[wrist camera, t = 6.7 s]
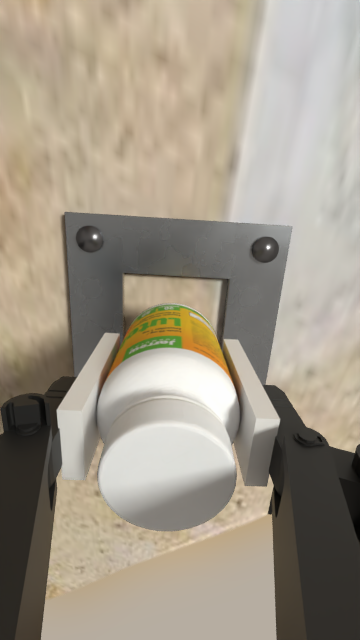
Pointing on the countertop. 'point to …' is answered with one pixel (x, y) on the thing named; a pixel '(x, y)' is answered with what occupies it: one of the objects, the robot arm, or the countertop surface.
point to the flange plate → (175, 274)
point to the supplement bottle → (168, 422)
